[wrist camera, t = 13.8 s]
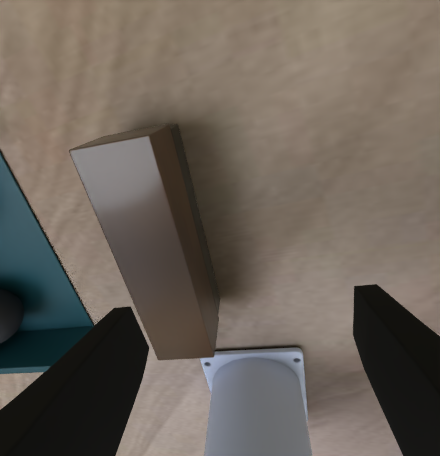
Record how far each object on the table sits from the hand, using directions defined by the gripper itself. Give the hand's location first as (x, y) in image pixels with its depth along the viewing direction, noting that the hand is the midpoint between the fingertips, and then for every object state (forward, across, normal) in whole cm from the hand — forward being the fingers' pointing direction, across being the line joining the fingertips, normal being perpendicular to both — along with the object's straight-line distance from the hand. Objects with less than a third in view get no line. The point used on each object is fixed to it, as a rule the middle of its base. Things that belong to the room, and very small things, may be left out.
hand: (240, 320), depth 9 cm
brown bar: (+8, +4, 0) cm, 9 cm away
